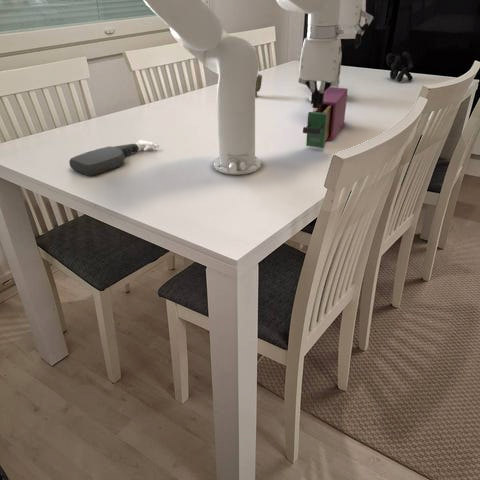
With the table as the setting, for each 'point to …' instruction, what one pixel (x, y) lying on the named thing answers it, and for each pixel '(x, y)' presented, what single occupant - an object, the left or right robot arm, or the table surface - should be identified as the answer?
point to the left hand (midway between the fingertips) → (316, 106)
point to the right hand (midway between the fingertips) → (340, 47)
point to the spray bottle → (106, 157)
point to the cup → (258, 83)
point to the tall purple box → (336, 108)
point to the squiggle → (399, 66)
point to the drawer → (319, 125)
